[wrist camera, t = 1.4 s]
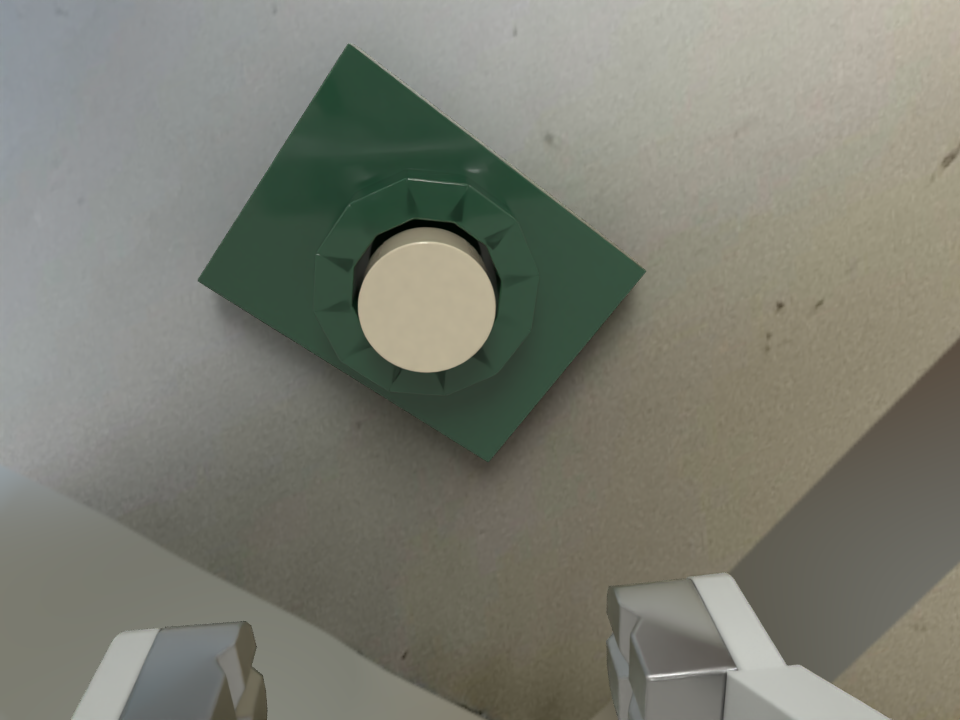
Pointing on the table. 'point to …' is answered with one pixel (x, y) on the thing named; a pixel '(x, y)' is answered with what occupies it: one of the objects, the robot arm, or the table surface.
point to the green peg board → (405, 205)
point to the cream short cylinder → (426, 300)
